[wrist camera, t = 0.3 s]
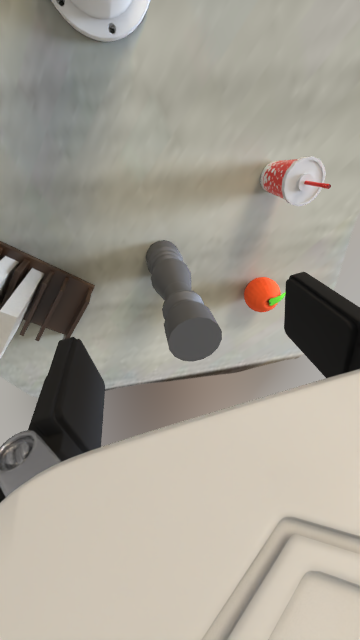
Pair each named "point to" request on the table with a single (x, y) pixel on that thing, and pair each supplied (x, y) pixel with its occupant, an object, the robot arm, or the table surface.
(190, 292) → the candle holder
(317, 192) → the beverage cup
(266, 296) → the clementine
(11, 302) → the white book
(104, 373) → the table surface
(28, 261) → the book rack
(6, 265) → the white book
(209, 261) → the table surface
